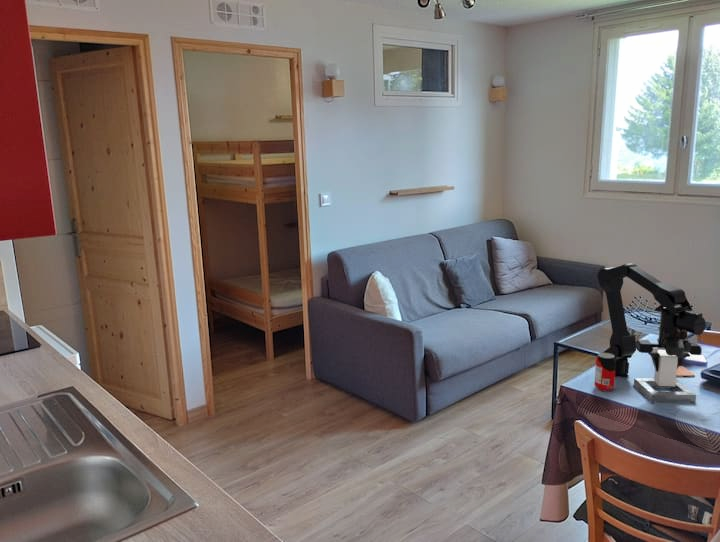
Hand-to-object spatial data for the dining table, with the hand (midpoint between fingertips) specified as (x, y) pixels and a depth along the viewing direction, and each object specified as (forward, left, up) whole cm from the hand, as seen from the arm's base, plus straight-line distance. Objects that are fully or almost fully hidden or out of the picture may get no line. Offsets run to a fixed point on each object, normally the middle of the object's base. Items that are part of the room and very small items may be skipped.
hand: (665, 371), depth 189 cm
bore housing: (0, 0, -8) cm, 8 cm away
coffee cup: (+21, +37, -8) cm, 43 cm away
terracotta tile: (+13, +19, -8) cm, 24 cm away
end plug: (0, 0, -4) cm, 4 cm away
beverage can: (-18, +4, -8) cm, 20 cm away
